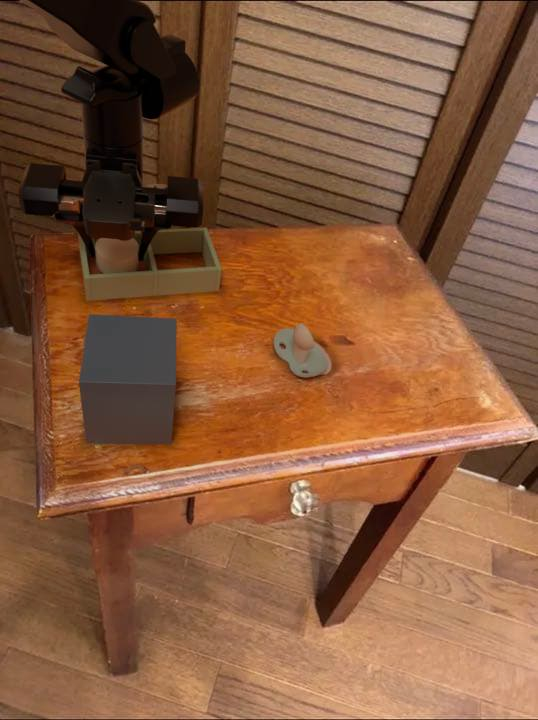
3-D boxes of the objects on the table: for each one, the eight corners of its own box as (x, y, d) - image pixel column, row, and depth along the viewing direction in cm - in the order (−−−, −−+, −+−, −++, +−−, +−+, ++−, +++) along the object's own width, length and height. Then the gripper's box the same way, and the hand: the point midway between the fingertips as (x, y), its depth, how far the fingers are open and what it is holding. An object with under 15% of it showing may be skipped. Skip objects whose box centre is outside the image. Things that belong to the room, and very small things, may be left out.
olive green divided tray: (87, 304, 68) (84, 278, 65) (80, 259, 73) (77, 232, 70) (218, 294, 73) (222, 269, 70) (204, 252, 78) (206, 227, 75)
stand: (86, 447, 56) (78, 381, 49) (94, 382, 61) (88, 313, 54) (171, 448, 58) (176, 384, 50) (172, 384, 63) (176, 318, 55)
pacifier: (304, 333, 71) (264, 348, 68) (316, 294, 67) (275, 309, 64) (341, 374, 68) (301, 392, 65) (358, 336, 64) (315, 354, 60)
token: (94, 275, 68) (92, 259, 66) (98, 248, 71) (97, 231, 70) (138, 278, 69) (138, 262, 67) (140, 251, 72) (140, 235, 70)
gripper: (-5, 168, 51) (21, 299, 63) (210, 187, 55) (197, 308, 66) (18, 107, 58) (38, 234, 70) (207, 127, 62) (196, 246, 73)
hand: (117, 256), depth 70 cm, fingers closed on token, 5 cm apart
